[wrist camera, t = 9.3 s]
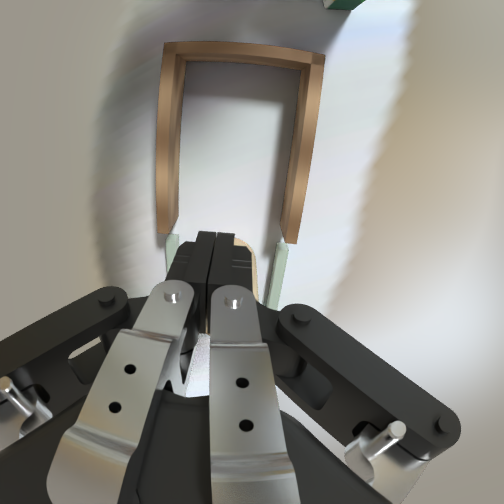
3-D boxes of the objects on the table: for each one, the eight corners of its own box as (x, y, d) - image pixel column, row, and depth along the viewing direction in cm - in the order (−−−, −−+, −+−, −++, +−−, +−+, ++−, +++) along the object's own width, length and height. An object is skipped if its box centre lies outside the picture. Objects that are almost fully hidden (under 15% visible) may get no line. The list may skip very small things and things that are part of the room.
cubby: (176, 51, 19) (164, 42, 15) (313, 62, 19) (325, 55, 16) (168, 215, 26) (157, 233, 23) (289, 225, 27) (296, 243, 24)
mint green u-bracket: (169, 233, 27) (165, 240, 26) (286, 243, 28) (288, 250, 27) (174, 308, 32) (171, 316, 31) (272, 316, 33) (273, 324, 32)
